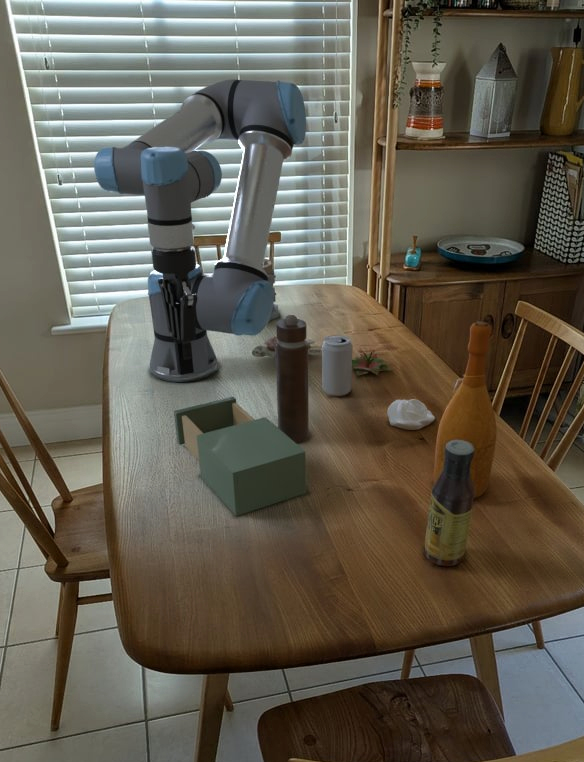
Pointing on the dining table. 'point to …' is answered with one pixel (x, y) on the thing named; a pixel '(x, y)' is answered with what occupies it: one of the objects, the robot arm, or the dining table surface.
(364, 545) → the dining table surface
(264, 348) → the decorative turtle
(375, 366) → the lily flower
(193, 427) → the drawer
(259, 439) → the cabinet
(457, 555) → the sauce bottle
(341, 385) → the beverage can
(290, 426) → the pepper mill
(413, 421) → the rose
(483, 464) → the wine bottle
